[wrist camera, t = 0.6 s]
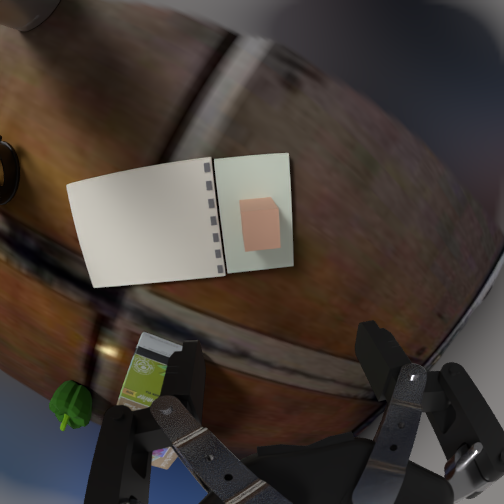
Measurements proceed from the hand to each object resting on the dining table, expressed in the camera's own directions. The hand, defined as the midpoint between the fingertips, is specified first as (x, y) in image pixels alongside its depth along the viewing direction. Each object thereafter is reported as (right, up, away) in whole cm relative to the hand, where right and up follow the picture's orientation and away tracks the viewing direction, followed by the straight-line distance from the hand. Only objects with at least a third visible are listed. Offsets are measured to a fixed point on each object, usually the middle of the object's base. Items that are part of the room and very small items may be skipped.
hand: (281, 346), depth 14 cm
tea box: (-16, -15, +29) cm, 36 cm away
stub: (-1, +9, +19) cm, 21 cm away
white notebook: (-14, +8, +19) cm, 25 cm away
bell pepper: (-36, -22, +30) cm, 52 cm away
